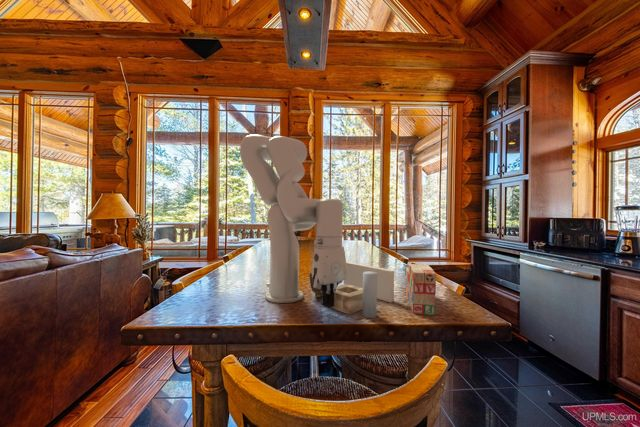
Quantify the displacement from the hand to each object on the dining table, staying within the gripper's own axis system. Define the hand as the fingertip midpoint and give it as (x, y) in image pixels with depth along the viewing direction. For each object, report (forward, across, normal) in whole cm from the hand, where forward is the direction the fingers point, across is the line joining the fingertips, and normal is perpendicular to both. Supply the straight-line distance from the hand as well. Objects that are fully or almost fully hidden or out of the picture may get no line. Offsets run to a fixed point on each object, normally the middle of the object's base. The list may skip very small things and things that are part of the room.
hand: (328, 305), depth 83 cm
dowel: (+2, +8, -9) cm, 12 cm away
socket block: (+2, +8, 0) cm, 9 cm away
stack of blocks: (+3, +28, -13) cm, 31 cm away
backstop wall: (+2, +22, +3) cm, 23 cm away
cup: (+2, +8, +12) cm, 15 cm away
